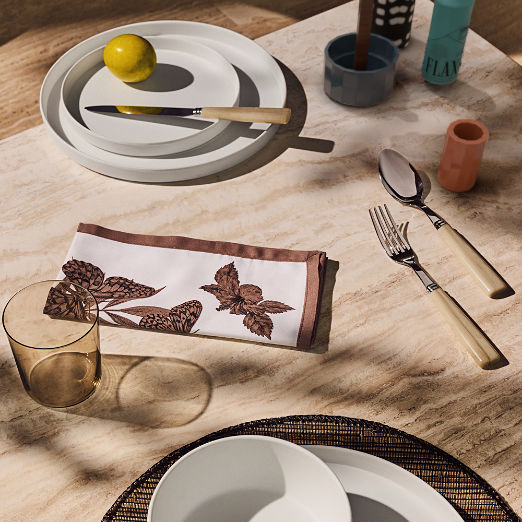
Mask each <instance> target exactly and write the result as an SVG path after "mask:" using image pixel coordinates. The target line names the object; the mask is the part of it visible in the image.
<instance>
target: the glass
mask: <svg viewBox="0 0 522 522" xmlns="http://www.w3.org/2000/svg"><path fill="white" fill-rule="evenodd" d="M416 1H417V0H374V6H373V15H372V25H371V33H373V34H378V35H381V36H383V37H385V38H387V39H390V40H391V41H392V42H393V43H394V44H395V45H396V46H397V47H398V50H399V51H400V50H402V49H405V48H406V47H408V45H409V43H410V39H411V32H412V27H413V19H414V15H415V14H414V13H415V8H416Z"/></svg>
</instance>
